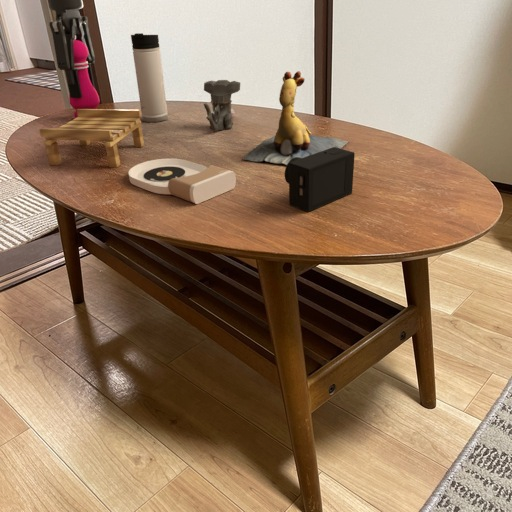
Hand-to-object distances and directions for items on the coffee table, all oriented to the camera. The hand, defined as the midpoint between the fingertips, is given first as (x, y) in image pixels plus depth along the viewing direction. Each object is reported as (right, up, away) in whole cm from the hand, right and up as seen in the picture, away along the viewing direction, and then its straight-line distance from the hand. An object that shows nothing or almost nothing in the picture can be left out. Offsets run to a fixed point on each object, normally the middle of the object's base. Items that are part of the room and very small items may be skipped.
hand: (83, 94), depth 128 cm
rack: (+11, -20, -23) cm, 32 cm away
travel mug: (+18, -7, 0) cm, 19 cm away
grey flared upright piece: (+34, -10, -6) cm, 36 cm away
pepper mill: (0, -5, +3) cm, 6 cm away
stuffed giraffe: (+51, -19, -25) cm, 60 cm away
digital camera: (+53, -31, -45) cm, 76 cm away
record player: (+29, -27, -37) cm, 55 cm away
